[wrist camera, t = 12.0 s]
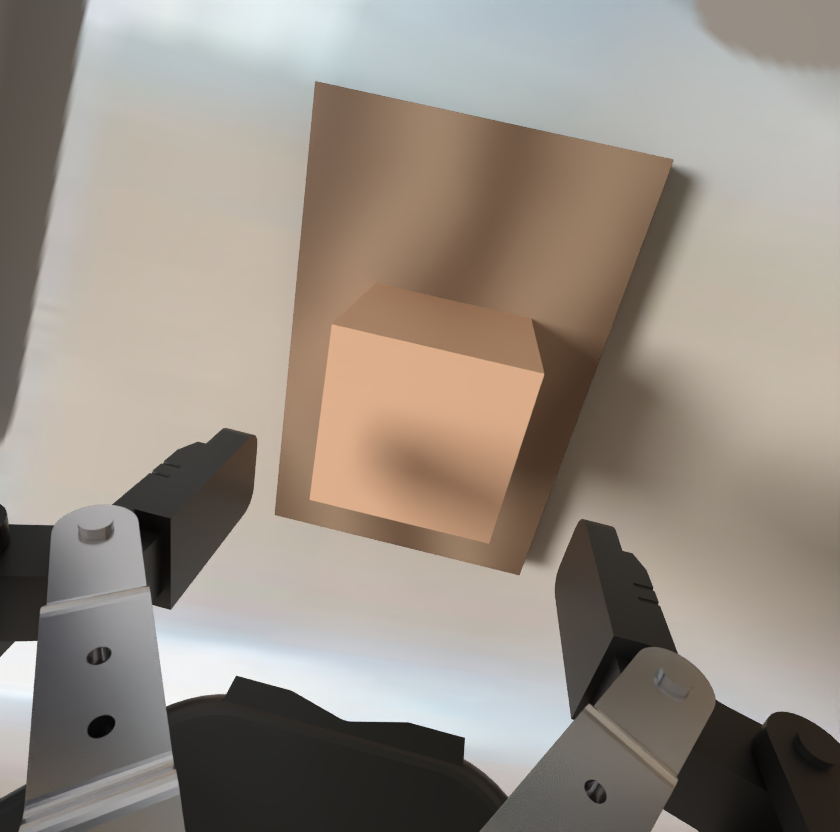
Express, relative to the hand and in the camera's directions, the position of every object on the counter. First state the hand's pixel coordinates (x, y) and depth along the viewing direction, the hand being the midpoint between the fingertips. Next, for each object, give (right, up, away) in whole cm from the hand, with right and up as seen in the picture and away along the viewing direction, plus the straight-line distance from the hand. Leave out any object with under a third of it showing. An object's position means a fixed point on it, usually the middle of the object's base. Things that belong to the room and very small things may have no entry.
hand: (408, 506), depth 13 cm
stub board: (+1, +5, +10) cm, 11 cm away
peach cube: (+1, +4, +8) cm, 9 cm away
